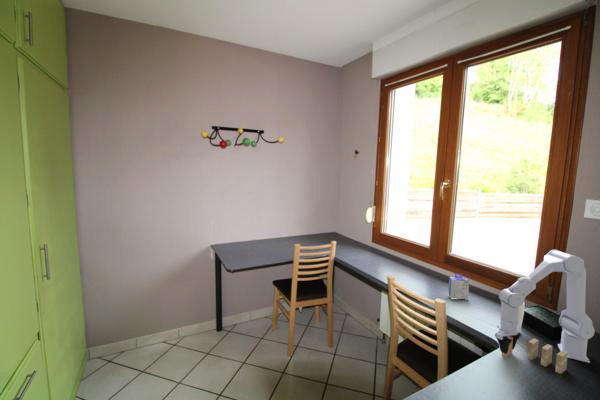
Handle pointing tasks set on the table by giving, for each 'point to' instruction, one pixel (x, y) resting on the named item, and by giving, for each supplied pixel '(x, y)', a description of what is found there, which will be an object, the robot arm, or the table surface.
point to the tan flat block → (546, 355)
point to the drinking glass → (521, 316)
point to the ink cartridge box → (458, 287)
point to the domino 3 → (561, 362)
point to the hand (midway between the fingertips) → (507, 350)
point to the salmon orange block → (509, 347)
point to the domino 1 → (532, 349)
